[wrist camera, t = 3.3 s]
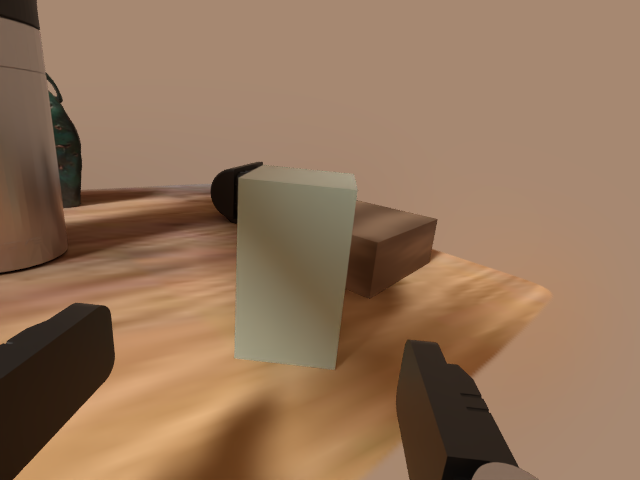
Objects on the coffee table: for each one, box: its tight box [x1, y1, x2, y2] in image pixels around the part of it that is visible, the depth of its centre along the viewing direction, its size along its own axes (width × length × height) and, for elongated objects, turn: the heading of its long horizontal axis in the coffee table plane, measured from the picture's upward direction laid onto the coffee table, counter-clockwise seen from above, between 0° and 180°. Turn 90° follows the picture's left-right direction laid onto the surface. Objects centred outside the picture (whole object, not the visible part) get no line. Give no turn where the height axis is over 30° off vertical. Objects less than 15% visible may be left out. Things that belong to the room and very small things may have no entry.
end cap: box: [211, 162, 263, 224], centre depth 48 cm, size 10×7×7 cm
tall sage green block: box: [234, 165, 357, 370], centre depth 21 cm, size 6×6×10 cm
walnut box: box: [345, 200, 437, 299], centre depth 36 cm, size 12×12×5 cm
